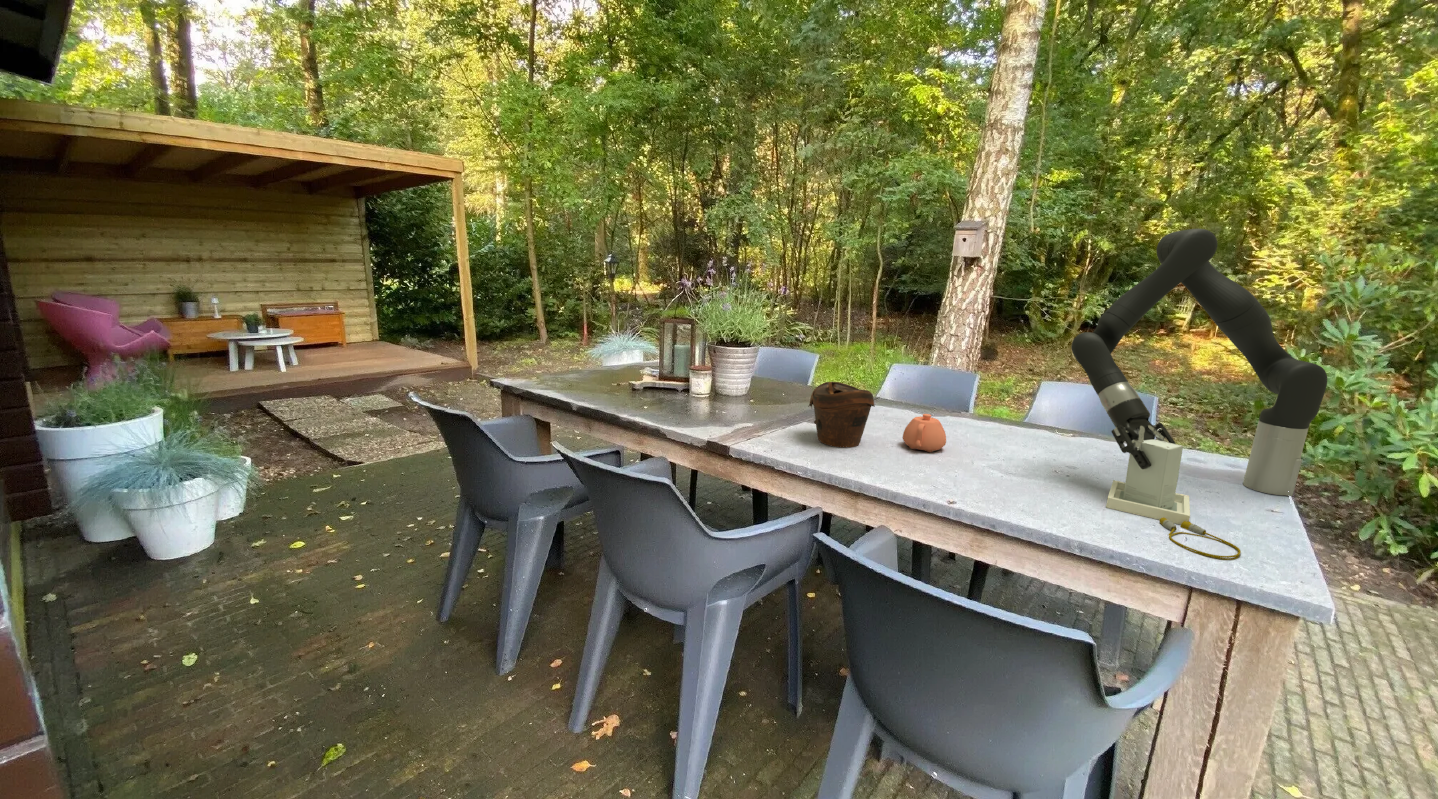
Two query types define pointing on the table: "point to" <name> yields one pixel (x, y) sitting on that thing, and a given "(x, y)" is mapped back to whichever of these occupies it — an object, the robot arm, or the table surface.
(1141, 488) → the skincare box
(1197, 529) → the extension cord
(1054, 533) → the table surface
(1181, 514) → the shallow cream tray
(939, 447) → the sugar bowl
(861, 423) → the case
